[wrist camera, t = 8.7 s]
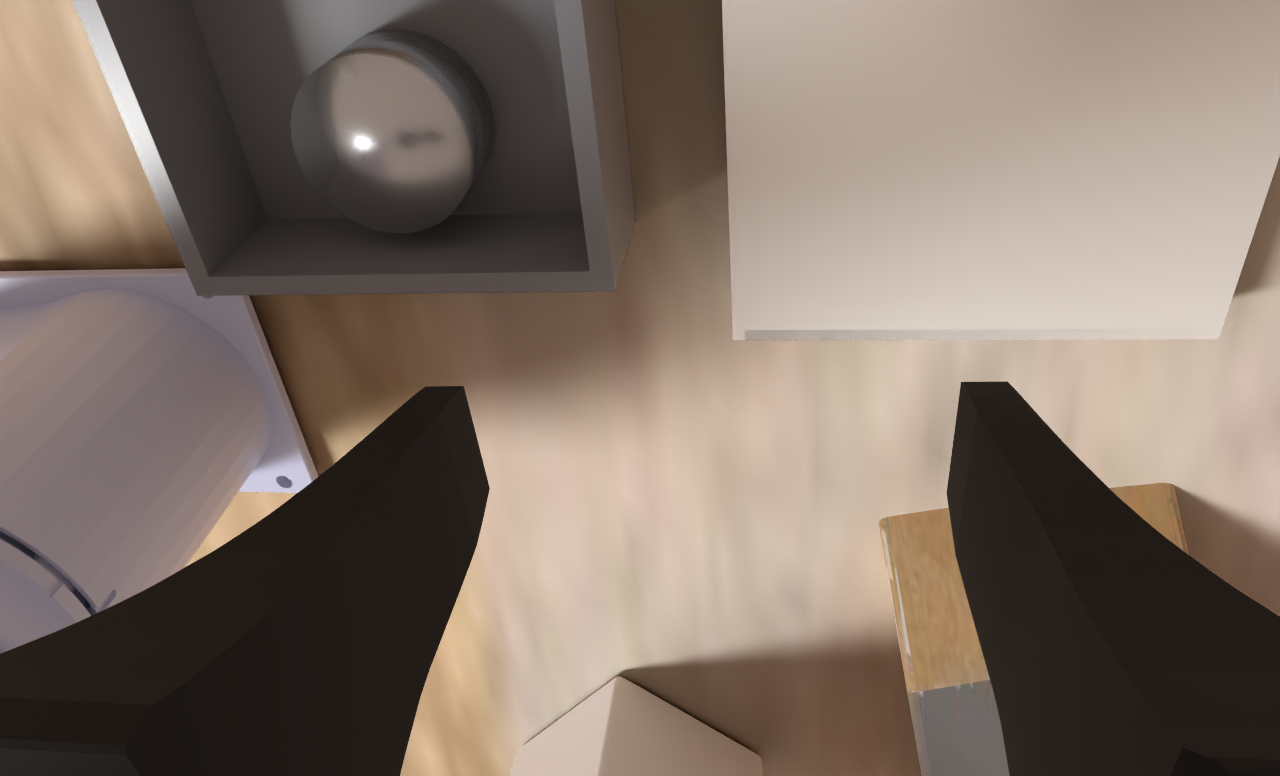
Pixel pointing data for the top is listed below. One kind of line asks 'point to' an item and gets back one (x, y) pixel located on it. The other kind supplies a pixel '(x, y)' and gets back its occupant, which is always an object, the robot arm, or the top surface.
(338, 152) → the domed metal puck
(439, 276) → the tub
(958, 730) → the sandwich container
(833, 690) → the top surface
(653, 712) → the milk carton
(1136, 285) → the lid
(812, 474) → the top surface
